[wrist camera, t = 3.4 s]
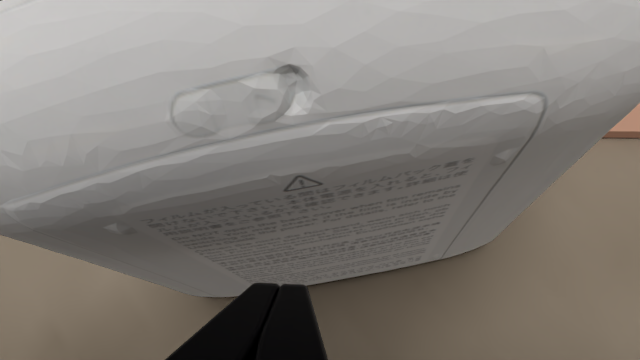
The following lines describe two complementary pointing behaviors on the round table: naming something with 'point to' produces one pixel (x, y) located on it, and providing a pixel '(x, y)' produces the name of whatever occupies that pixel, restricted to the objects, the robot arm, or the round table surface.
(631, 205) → the round table surface
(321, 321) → the round table surface
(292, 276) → the photo printer
